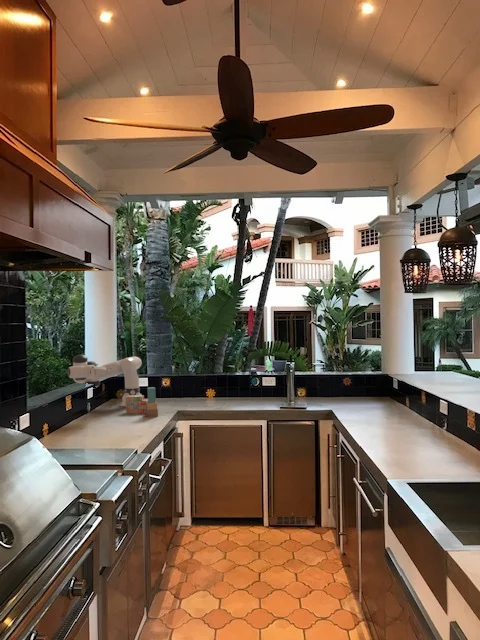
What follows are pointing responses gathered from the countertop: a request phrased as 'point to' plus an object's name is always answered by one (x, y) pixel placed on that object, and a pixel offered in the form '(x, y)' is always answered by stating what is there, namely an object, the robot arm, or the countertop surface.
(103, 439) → the countertop surface
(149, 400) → the teal block
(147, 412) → the tower base
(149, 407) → the tower top
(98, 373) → the robot arm
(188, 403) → the countertop surface
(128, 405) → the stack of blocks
